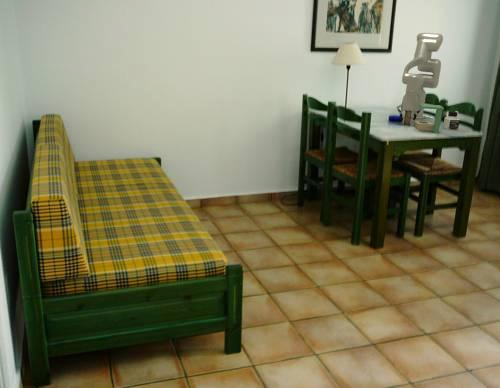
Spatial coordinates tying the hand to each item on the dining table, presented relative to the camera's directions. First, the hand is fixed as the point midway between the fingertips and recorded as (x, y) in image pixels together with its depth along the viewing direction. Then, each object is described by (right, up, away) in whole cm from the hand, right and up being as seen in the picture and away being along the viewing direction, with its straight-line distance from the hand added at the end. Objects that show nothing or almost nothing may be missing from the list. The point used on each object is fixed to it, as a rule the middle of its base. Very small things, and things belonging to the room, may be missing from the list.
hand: (407, 119), depth 355 cm
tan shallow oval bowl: (+8, -7, -8) cm, 13 cm away
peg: (0, -3, +1) cm, 4 cm away
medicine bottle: (+27, -7, -5) cm, 29 cm away
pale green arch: (+9, -9, -15) cm, 20 cm away
